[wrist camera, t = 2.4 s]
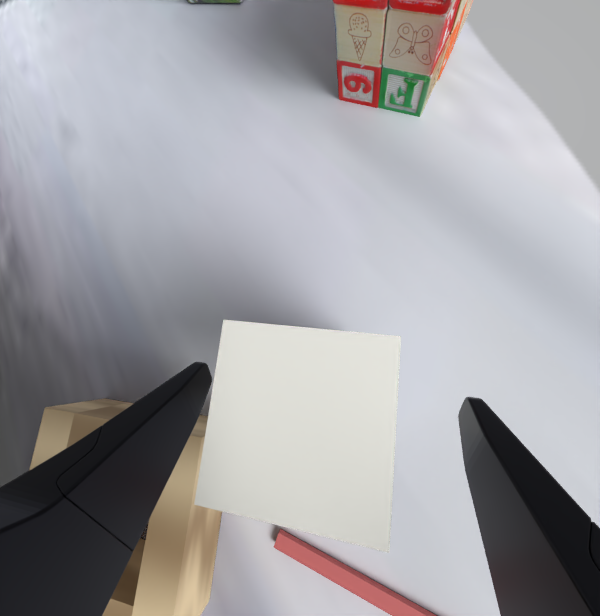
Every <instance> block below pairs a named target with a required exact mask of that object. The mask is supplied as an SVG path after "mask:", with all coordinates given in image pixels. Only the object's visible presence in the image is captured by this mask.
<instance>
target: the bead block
mask: <svg viewBox="0 0 600 616" xmlns="http://www.w3.org/2000/svg"><path fill="white" fill-rule="evenodd" d="M132 404H134V403H129V402H123V401H117V400H111V399H106V398H104V399H97V400H91V401H84V402H77V403H71V404H64V405H58V406H51V407H45V409H44V413H43V417H42V421H41V425H40V429H39V433H38V437H37V441H36V445H35V449H34V453H33V457H32V461H31V465H30V469H29V470H31V469H33V468H34V467H36V466H38V465H39V464H41V463H43V462H44V461H46V460H48V459H49V458H51V457H53V456H55V455H56V454H58V453H59V452H61V451H63V450H64V449H66V448H68V447H69V446H71V445H72V444H74V443H76V442H77V441H79V440H80V439H82V438H83V437H85V436H86V435H88V434H89V433H91V432H92V431H94V430H95V429H97V428H98V427H100V426H102V425H103V424H104V423H106V422H107V421H109V420H110V419H112V418H113V417H115V416H116V415H118V414H119V413H121V412H122V411H124V410H125V409H126V408H128V407H129V406H131V405H132ZM207 420H208V416H204V415H199V418H198V420H197V422H196V424H195V427H194V429H193V431H192V433H191V435H190V437H189V439H188V441H187V443H186V445H185V447H184V449H183V451H182V453H181V455H180V457H179V459H178V461H177V463H176V465H175V467H174V469H173V472H172V474H171V476H170V478H169V480H168V482H167V484H166V486H165V488H164V490H163V492H162V494H161V496H160V498H159V500H158V502H157V504H156V506H155V508H154V510H153V512H152V514H151V516H150V519H149V523H148V529H147V535H146V540H144V539H139V541H138V543H137V545H136V547H135V549H134V551H133V554H132V556H131V558H130V560H129V562H128V564H127V566H126V568H125V570H124V572H123V574H122V576H121V578H120V580H119V582H118V584H117V586H116V588H115V590H114V592H113V595H112V597H111V599H110V601H109V603H108V605H107V607H106V609H105V611H104V613H103V615H102V616H200V615H201V613H202V612H203V610H204V608H205V607H206V605H207V604H208V602H209V599H210V592H211V585H212V578H213V571H214V564H215V557H216V550H217V543H218V536H219V529H220V522H221V515H222V511H218V510H214V509H210V508H206V507H202V506H198V505H194V502H195V496H196V490H197V484H198V477H199V471H200V465H201V458H202V452H203V446H204V439H205V433H206V427H207Z"/></svg>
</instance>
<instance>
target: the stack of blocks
mask: <svg viewBox="0 0 600 616" xmlns="http://www.w3.org/2000/svg"><path fill="white" fill-rule="evenodd" d="M472 2H473V0H333V3H334V19H335V32H336V50H337V76H338V93H339V99H340V100H343V101H348V102H352V103H357V104H361V105H366V106H371V107H375V108H383V109H387V110H392V111H396V112H401V113H405V114H410V115H414V116H418V117H420V116H421V114H422V112H423V110H424V108H425V106H426V103H427V101H428V99H429V97H430V95H431V92H432V90H433V88H434V86H435V84H436V82H437V81H438V79H439V78H440V75H441V73H442V71H443V69H444V67H445V64H446V62H447V60H448V58H449V55H450V53H451V51H452V49H453V47H454V44H455V42H456V40H457V38H458V36H459V34H460V32H461V29H462V27H463V25H464V23H465V21H466V18H467V16H468V13H469V11H470V8H471V5H472Z"/></svg>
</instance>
